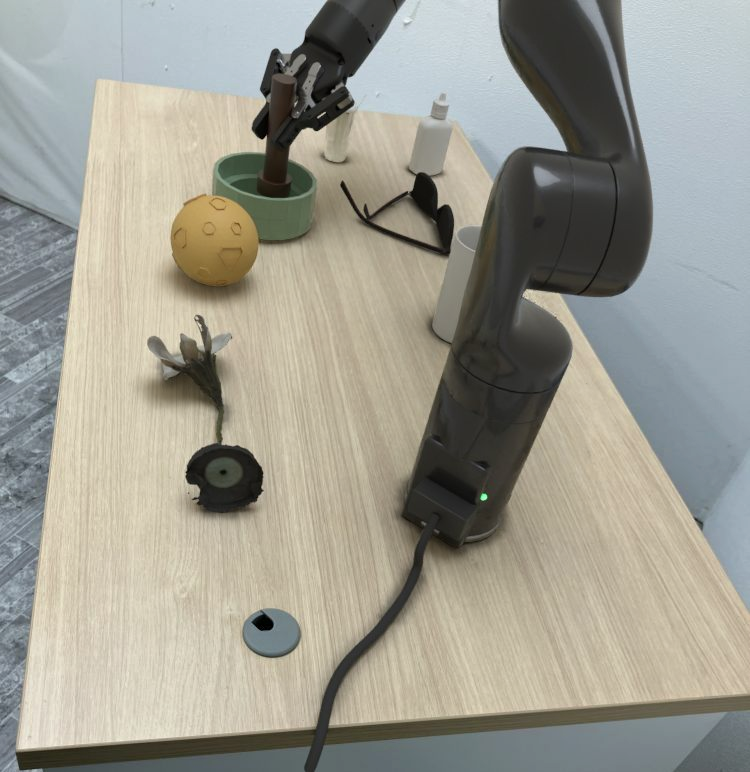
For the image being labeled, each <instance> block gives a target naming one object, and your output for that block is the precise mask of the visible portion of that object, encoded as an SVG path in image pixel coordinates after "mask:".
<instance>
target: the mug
mask: <svg viewBox="0 0 750 772" xmlns="http://www.w3.org/2000/svg"><path fill="white" fill-rule="evenodd" d="M481 227H482V225H478V224H469V225H467V224H466V225H463V226H460V227H459V228H457V229H456V231H455V233H454V237H453V238H454V239H453V240H452V243H451V247H450V249H451V251H450V254H448V255H449V256H448V260H447V263H446V267H445V272H444V275H443V279H442V283H441V286H440V291H439V295H438V299H437V303H436V306H435V310H434V311H435V312H434V316H433V320H432V324H431V326H432V330H433V331H434V333H435V334H436V336H438V337H439V339H442V340H443V341H445V342H447V343H450V344H452V340H453V337H454V334H455V331H456V327H457V323H458V319H459V314H460V310H461V305H462V300H463V296H464V292H465V288H466V285H467V282H468V278H469V275H470V271H471V268H472V264H473V260H474V256H475V252H476V248H477V244H478V240H479V235H480V231H481Z"/></svg>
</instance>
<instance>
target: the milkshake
mask: <svg viewBox="0 0 750 772" xmlns="http://www.w3.org/2000/svg"><path fill="white" fill-rule="evenodd" d="M366 96H367V94H365V95H364V96H363V98H362V99H361V101H360V103H359V104H358V103H357V102H356V100H355V99H354V101H355V104H354V106H353V107H351V108H350V109H349V110H347V111H346V112H344V113H343V114H342V115H340V116H339V117H337V118H336V119H335V120H333V121H332V122H330V123H329V124H328V125H326V126H325V127H326V128H325V137H324V138H325V139H324V140H325V141H324V150H323V151H324V152H323V156H324V158H325V160H328V161H330V162H332V163H343V162H344V161H345V160H346V158H347V153H348V149H349V146H350V140H351V138H352V132H353V129H354V124H355V121H356V117H357V113H358V109H359V107H360V106H361V104H362V102H363V101H364V99H365V98H366Z"/></svg>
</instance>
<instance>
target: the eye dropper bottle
mask: <svg viewBox="0 0 750 772" xmlns="http://www.w3.org/2000/svg"><path fill="white" fill-rule="evenodd" d="M446 99H447V92H445V91H441V92H440V94H439V97H438V98H436V99H434V100H433V101H432V106H431V109H430V115H427V116H426V117H424V118H422V119H421V120H420V121H419V123H418V125H417V130H416V134H415V137H414V141H413V147H412V152H411V156H410V161H409V164H408V169H409V170H410V171H411V172H412V173H413V174H415V175H417V174H418V173H419V172H424V173H426V174H427V175H429V176H430V177H432V176H436V175H438V174H441V173H442V172H443V169H444V165H445V161H446V157H447V153H448V149H449V145H450V141H451V137H452V133H453V129H454V128H453V123H452V121H451V120H450V119H448V118H447V116H448V111H449V107H450V103H449V102H448V101H447V100H446Z"/></svg>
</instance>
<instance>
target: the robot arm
mask: <svg viewBox="0 0 750 772" xmlns="http://www.w3.org/2000/svg"><path fill="white" fill-rule="evenodd" d="M406 1H407V0H326V1H325V3H324V4H323V5H322V7H321V8H320V10H319V11H318V12H317V13H316V15H315V17H313V19H312V20H311V22H310V24H309V25H308V26H307V27H306V29H305V31H304V37H303V41H302V43H301V44H300V45H299V46H298V47H296V48H294V49H293V50H292V51H291V53H282V52H281V51H280V49H279V48H277V47H275V48H273V49H272V50H271V51H270V54H269V57H268V60H267V63H266V67H265V70H264V74H263V77H262V81H261V84H260V86H259V91H260V93H261V94H262V96H263V97H264V99H265V103H264V105H263V106H262V108H261V110H260V111H259V112H258V114H257V115H256V116H255V118H254V119H253V121H252V124H251V125H252V126H251V131H252V133H253V134H254V135H255V136H256V138H258V139H260V140H261V141H262V140H264V139H266V138H267V127H268V117H269V106H270V95H271V84H272V76H273V75H274V74H287V75H290V76H293V77H295V78H296V79H297V90H296V99H295V107H294V109H293V111H292V117H290V116H287V118H286V119H285V121H284V122H283V123H282V125H281V126H280V127H279V129H278V130H277V132H276V133H275V134H274V136H273V137H272V139H271V143H272V144H273V146H274V147H275V148H276V149H277V150H278V151H280V152H283V151H284V150H285V149H287V148H289V147H290V148H291V146H292V144H293V143H294V142H295V140H296V139H297V137H298V136H299V134H300V133H301V132H302V131H303V130H307V129H312V130H313V131H314V132H320V130H322V129H324V128H325V127H326V125H328V124H329V123H330V122H332V121H333V120H335V119H336V118H337V117H339V116H340V115H342V114H343V113H344V112H346V111H347V110H349V109H350V108H351V107H353V106H354V104H355V102H356V100H355V99H354V98H353V95H352V94H351V92H350V91H349V89H348V88H347V86H346V85H347V82H348V79H349V78H353V77H354V76H355V75H356V73H357V72H358V70H360V68H361V67H362V65H363V64H364V62H365V61H366V60H367V58H368V57H369V55H370V54H371V53H372V52H373V50H374V49H375V47H376V46H377V45H378V44H379V42H380V40H381V39H382V38H383V36H384V35H385V33H386V32H387V31H388V29H389V28H390V25H391V23H392V21H393V19H394V18H395V16H396V15H397V13H398V12H399V11H400V9H401V8H402V7H403V6H404V4H405V3H406ZM496 1H497V18H498V19H497V20H498V21H497V22H498V30H499V37H500V41H501V45H502V47H503V49H504V52H505V55H506V56H507V59H508V61H509V63H510V65H511V66H512V68H513V70H514V71H515V73H516V74H517V76H518V77H519V79H520V80H521V82H522V83H523V84H524V86H525V87H526V89H527V90H528V92H529V93H530V95H532V97H533V98H534V99H535V101H536V102H537V103H538V105H539V106H540V108H542V110H543V111H544V113H545V114H546V115H547V117H548V118H549V119H550V121H551V122H552V124H553V125H554V127H555V128H556V130H557V131H558V133H559V135H560V137H561V139H562V141H563V144H564V146H565V149H566V150H560V149H554V148H547V147H540V146H532V145H531V146H530V145H523V146H520V147H517V148H515V149H514V150H512V151H511V152H510V153H509V154H508V155H507V156H506V158H505V159H504V161H503V162H502V163H501V166H500V168H499V169H498V171H497V173H496V175H495V178H494V181H493V183H492V186H491V189H490V192H489V196H488V199H487V203H486V207H485V210H484V215H483V218H482V224H481V226H482V227H481V231H480V235H479V240H478V244H477V248H476V252H475V256H474V260H473V264H472V268H471V271H470V275H469V278H468V282H467V285H466V288H465V292H464V296H463V300H462V305H461V310H460V314H459V319H458V323H457V327H456V331H455V334H454V337H453V340H452V343H450V344H451V345H450V348H449V351H448V354H447V358H446V360H445V364H444V367H443V370H442V373H441V375H440V376H441V377H440V379H439V382H438V386H437V389H436V392H435V395H434V399H433V402H432V405H431V408H430V412H429V415H428V418H427V421H426V424H425V427H424V431H423V434H422V437H421V440H420V444H419V447H418V449H417V453H416V457H415V460H414V463H413V466H412V470H411V474H410V476H409V479H408V480H407V483H406V485H405V489H404V492H403V493H404V494H403V499H404V500H403V502H404V504H403V508H402V511H401V516H402V517H404V518H405V519H407V520H408V521H410V522H412V523H413V524H415V525H417V526H419V527H420V528H421V529H422V532H421V534H420V536H419V537H418V541H417V543H416V545H415V549H414V552H413V553H414V554H413V563H412V567H411V569H410V573H409V574H408V577H407V579H406V581H405V584H404V585H403V588H402V589H401V590H400V593H399V594H398V596H397V597H396V598H395V600H394V601H393V603H392V604H391V605H390V606H389V608H388V609H387V611H386V612H385V613H384V614H383V616H382V617H381V619H380V620H379V621H378V623H377V624H376V625H375V626H374V627H373V628H372V629H371V630H370V631H369V632H368V633H367V634H366V635H365V636H364V637H363V638H362V639H361V640H360V641H359V642H358V643H357V644H356V645H355V646H354V647H352V649H350V651H349V652H348V653H347V654H346V655H345V656H344V657H343V659H342V660H341V661H340V662H339V664H338V666H337V667H336V668H335V670H334V672H333V674H332V675H331V677H330V679H329V681H328V684H327V686H326V688H325V691H324V694H323V697H322V700H321V705H320V709H319V714H318V718H317V723H316V728H315V731H314V736H313V739H312V742H311V746H310V749H309V752H308V755H307V758H306V761H305V763H304V766H303V770H304V772H315V771H316V769H317V768H318V764H319V761H320V758H321V755H322V753H323V750H324V746H325V744H326V739H327V735H328V731H329V725H330V722H331V721H330V720H331V716H332V711H333V706H334V703H335V699H336V696H337V693H338V691H339V688H340V686H341V684H342V682H343V680H344V679H345V677H346V675H347V673H348V672H349V670H350V669H351V668H352V666H353V665H354V664H355V663H356V662H357V660H358V659H359V658H360V657H361V656H362V655H363V654H364V653H365V652H366V651H367V650H368V649H369V648H370V647H372V645H373V644H374V643H375V642H376V641H377V640H378V639H380V637H381V636H382V635H383V634H384V633H385V631H386V630H387V629H388V628H389V626H390V625H391V624H392V622H393V621H394V619H396V617H397V616H398V614H399V613H400V612H401V610H402V609H403V608H404V606H405V605H406V603H407V602H408V600H409V598H410V596H411V595H412V592H413V591H414V589H415V587H416V584H417V582H418V580H419V577H420V576H421V572H422V570H423V566H424V556H425V552H426V549H427V547H428V544H429V542H430V539H431V537H432V536H435V537H437V538H439V539H440V540H442V541H444V542H445V543H447V544H448V545H450V546H451V547H453V548H455V549H459V548H460V547H461V546H462V545H463V544H465V543H473V542H479V541H482V540H484V539H487V538H488V537H490V536H491V535H493V534H494V533H495V532H496V531H497V529H498V528H499V526H500V524H501V522H502V520H503V516H504V512H505V509H506V508H507V505H508V503H509V501H510V499H511V497H512V494H513V491H514V489H515V487H516V484H517V483H518V480H519V477H520V475H521V473H522V471H523V468H524V466H525V464H526V462H527V460H528V457H529V455H530V452H531V451H532V448H533V446H534V444H535V442H536V439H537V436H538V434H539V432H540V430H541V428H542V425H543V423H544V421H545V419H546V417H547V414H548V412H549V410H550V408H551V405H552V403H553V401H554V399H555V396H556V395H557V392H558V390H559V388H560V386H561V383H562V381H563V378H564V376H565V374H566V371H567V369H568V367H569V366H570V362H571V360H572V357H573V349H574V346H573V341H572V338H571V335H570V333H569V331H568V329H567V328H566V327H565V325H564V324H563V323H562V322H561V320H559V319H558V318H557V317H556V316H555V315H553V314H552V313H551V312H550V311H548V310H547V309H545V308H543V307H542V306H540V305H539V304H536V303H535V302H534V301H531V300H530V299H527V298H526V297H524V294H525V292H526V291H527V290H529V291H530V290H531V291H539V292H545V293H553V294H561V295H568V296H576V297H585V298H612V297H616V296H618V295H621V294H623V293H625V292H627V291H628V290H629V289H631V288H632V286H634V284H636V282H637V281H638V279H639V277H640V276H641V274H642V273H643V271H644V268H645V266H646V262H647V260H648V257H649V253H650V249H651V244H652V239H653V238H652V237H653V232H654V231H653V230H654V198H653V189H652V188H653V187H652V181H651V176H650V170H649V164H648V160H647V156H646V151H645V147H644V143H643V137H642V134H641V130H640V125H639V120H638V116H637V111H636V108H635V104H634V98H633V93H632V89H631V83H630V76H629V69H628V61H627V52H626V44H625V36H624V23H623V5H622V3H623V2H622V0H496ZM354 100H355V101H354Z"/></svg>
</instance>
